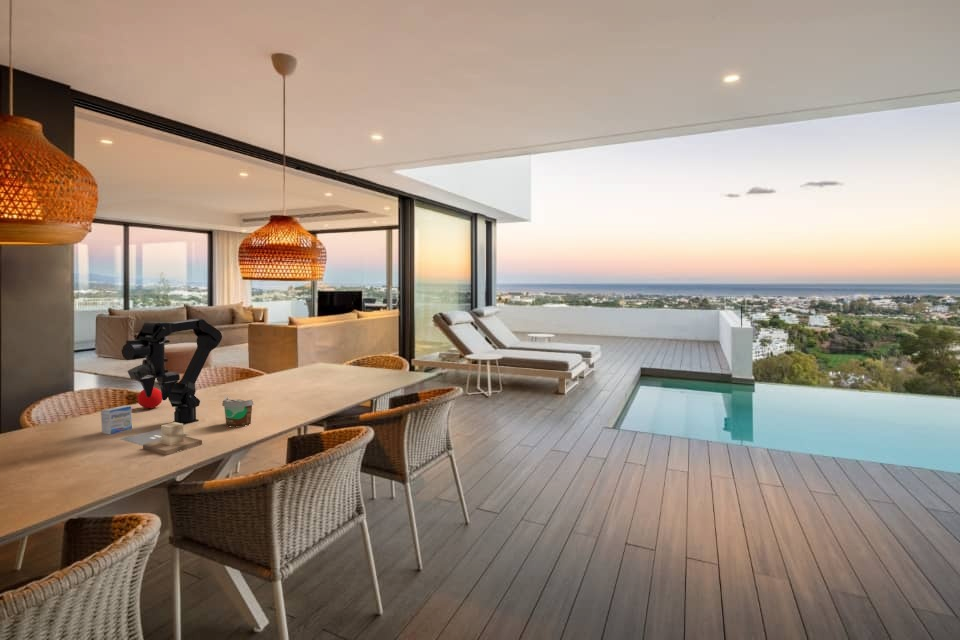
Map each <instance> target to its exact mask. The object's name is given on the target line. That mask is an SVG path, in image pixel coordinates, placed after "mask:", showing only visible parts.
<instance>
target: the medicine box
mask: <svg viewBox="0 0 960 640" xmlns="http://www.w3.org/2000/svg"><path fill="white" fill-rule="evenodd" d="M132 413H133V412H132V406H131V405H126V404H125V405H120V406H116V407H115V406H114V407H110V408H105V409H102V410H100V415H101V416H100V418H101V433H102V434H105V435H106V434H107V435H113V434H116V433H117V434H118V433H121V432H124V431H127V430H131V429H133V419H132V417H133V415H132Z"/></svg>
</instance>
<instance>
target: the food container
mask: <svg viewBox="0 0 960 640" xmlns="http://www.w3.org/2000/svg"><path fill="white" fill-rule="evenodd" d="M221 405H222V406H223V407H224V414H225V415H224V416H225V424H226V427H228V426H231V427H230V428H237V427H236V426H243V427H246V426H245V425H247V426H250V425H249V424H251V422H252V411H253V405H255V404H254V401H253V399H248V400H244V399H243V400H242V399H229V397H227V396H226V397H224V399H223V400H222V404H221Z"/></svg>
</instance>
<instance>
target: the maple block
mask: <svg viewBox="0 0 960 640" xmlns="http://www.w3.org/2000/svg"><path fill="white" fill-rule="evenodd" d="M160 429H161V440H162V444H166V445H174V444H177V443H181V442H184V434H185V433H184V425H183V424H181V423H177V422H173V421H172V422H168V423H165V424H162V425H160Z"/></svg>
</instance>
